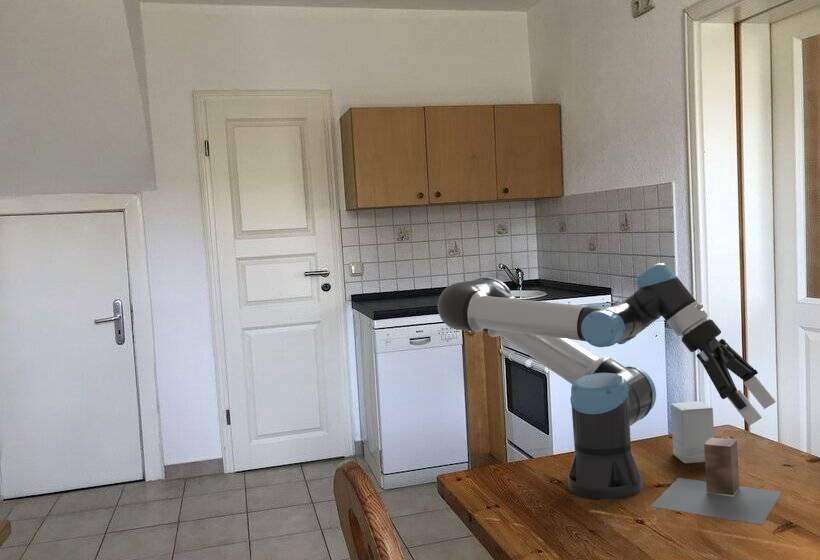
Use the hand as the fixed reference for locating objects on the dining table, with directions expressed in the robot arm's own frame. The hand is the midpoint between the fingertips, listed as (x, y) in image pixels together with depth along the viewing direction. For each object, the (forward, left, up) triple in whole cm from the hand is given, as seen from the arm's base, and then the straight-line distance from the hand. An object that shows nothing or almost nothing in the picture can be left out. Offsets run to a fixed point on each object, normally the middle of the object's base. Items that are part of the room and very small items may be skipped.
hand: (763, 413), depth 145 cm
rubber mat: (-7, -11, -15) cm, 20 cm away
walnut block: (-7, -6, -15) cm, 18 cm away
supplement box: (-18, +13, -16) cm, 27 cm away
